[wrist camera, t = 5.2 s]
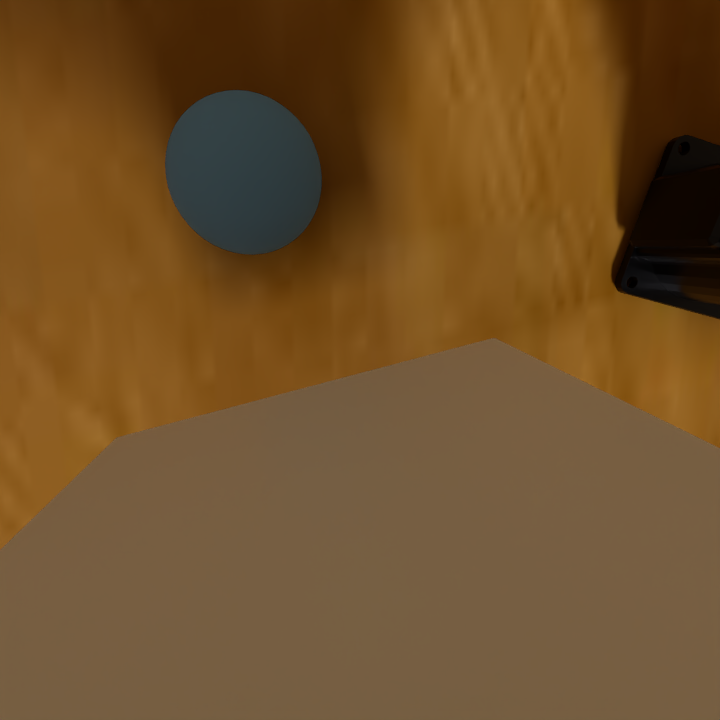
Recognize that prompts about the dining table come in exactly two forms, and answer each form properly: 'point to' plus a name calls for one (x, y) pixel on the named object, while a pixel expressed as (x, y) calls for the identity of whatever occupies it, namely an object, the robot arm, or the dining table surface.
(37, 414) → the dining table surface
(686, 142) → the robot arm
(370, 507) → the white block
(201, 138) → the ball
